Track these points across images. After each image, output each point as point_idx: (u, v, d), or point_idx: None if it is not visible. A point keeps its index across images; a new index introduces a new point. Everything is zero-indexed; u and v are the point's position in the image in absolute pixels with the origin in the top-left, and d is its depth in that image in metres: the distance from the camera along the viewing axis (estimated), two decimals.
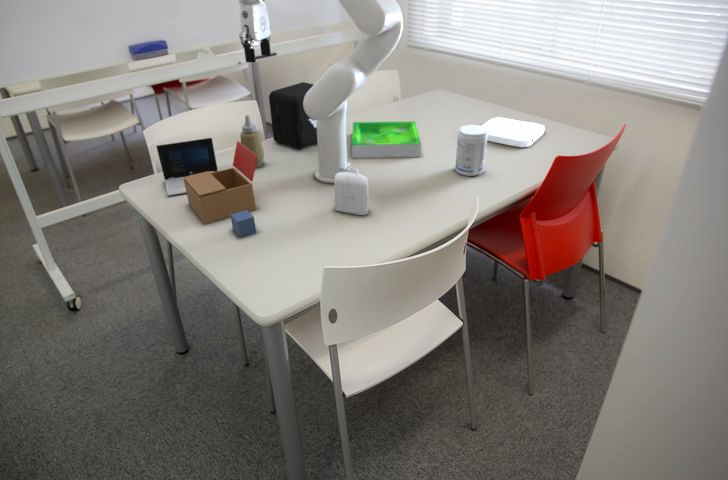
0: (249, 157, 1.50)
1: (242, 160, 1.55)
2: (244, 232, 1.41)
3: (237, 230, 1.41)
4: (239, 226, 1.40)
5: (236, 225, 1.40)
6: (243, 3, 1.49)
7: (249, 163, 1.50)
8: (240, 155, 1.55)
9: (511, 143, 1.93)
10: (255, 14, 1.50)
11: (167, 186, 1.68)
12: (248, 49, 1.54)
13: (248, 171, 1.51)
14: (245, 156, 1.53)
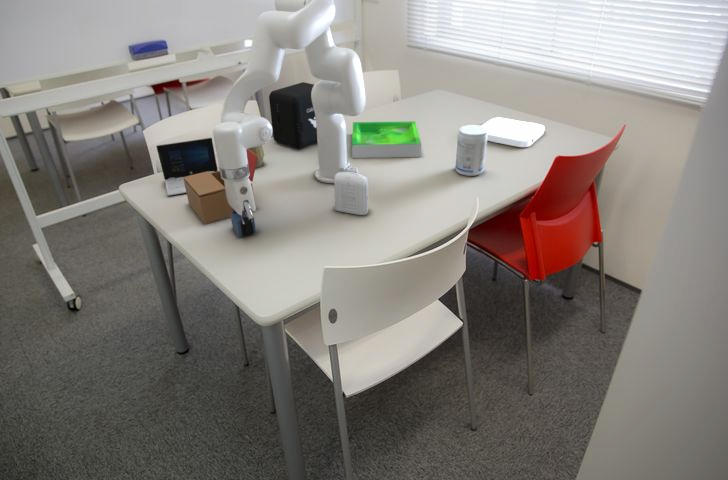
0: (249, 157, 1.50)
1: None
2: None
3: (237, 230, 1.41)
4: (239, 226, 1.40)
5: (236, 225, 1.40)
6: (237, 179, 1.31)
7: (249, 163, 1.50)
8: None
9: (511, 143, 1.93)
10: None
11: (167, 186, 1.68)
12: (248, 223, 1.39)
13: None
14: None
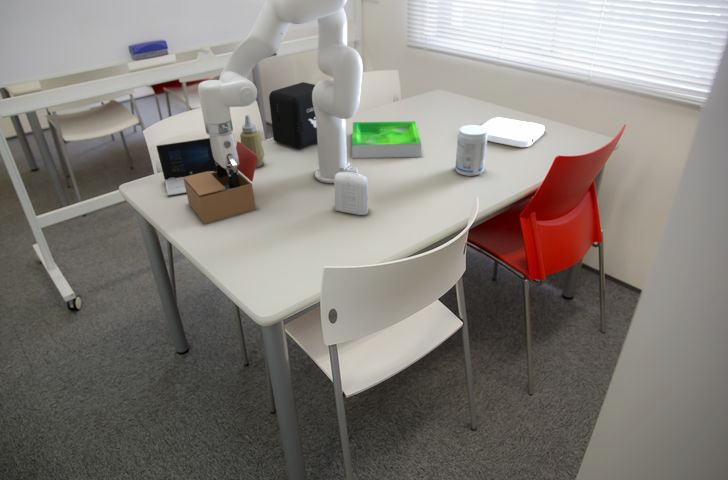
0: (249, 157, 1.50)
1: (242, 160, 1.55)
2: None
3: None
4: None
5: None
6: (221, 134, 1.42)
7: (249, 163, 1.50)
8: (240, 155, 1.55)
9: (511, 143, 1.93)
10: (234, 141, 1.45)
11: (167, 186, 1.68)
12: (235, 176, 1.48)
13: (248, 171, 1.51)
14: (245, 156, 1.53)
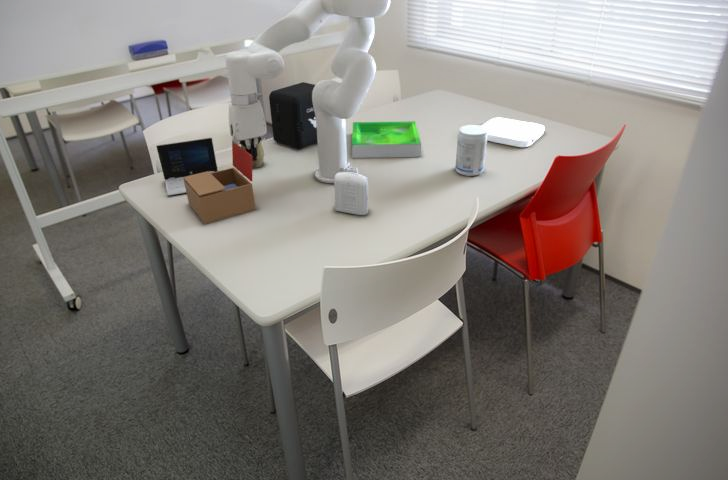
0: (245, 157, 1.50)
1: (239, 160, 1.54)
2: None
3: None
4: None
5: None
6: None
7: (246, 163, 1.50)
8: (237, 155, 1.55)
9: (511, 143, 1.93)
10: None
11: (167, 186, 1.68)
12: None
13: (247, 171, 1.51)
14: (241, 156, 1.52)
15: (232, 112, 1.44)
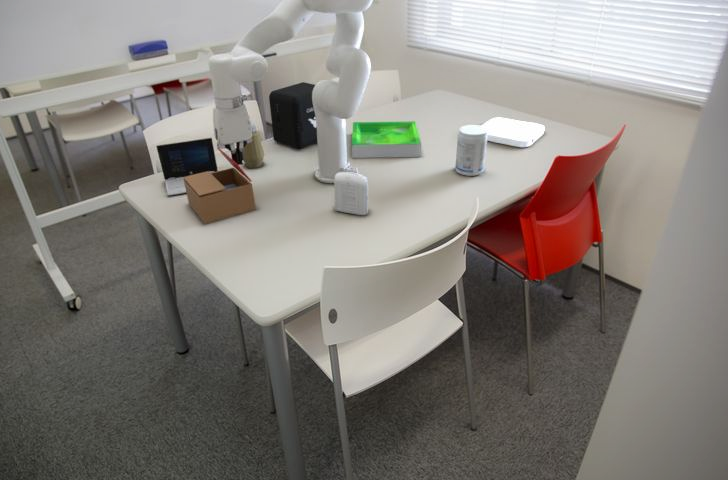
0: (233, 163, 1.49)
1: None
2: None
3: None
4: None
5: None
6: None
7: (237, 168, 1.49)
8: (228, 160, 1.54)
9: (511, 143, 1.93)
10: None
11: (167, 186, 1.68)
12: None
13: (243, 173, 1.51)
14: None
15: (216, 116, 1.42)
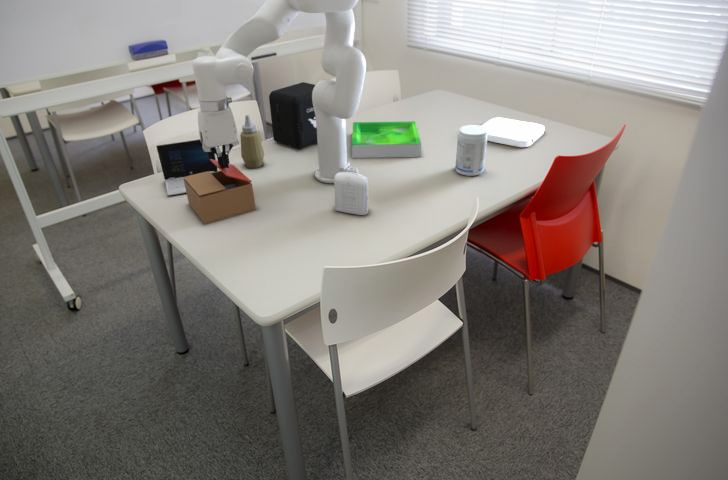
0: None
1: None
2: None
3: None
4: None
5: None
6: None
7: None
8: None
9: (511, 143, 1.93)
10: None
11: (167, 186, 1.68)
12: None
13: None
14: None
15: (201, 119, 1.40)
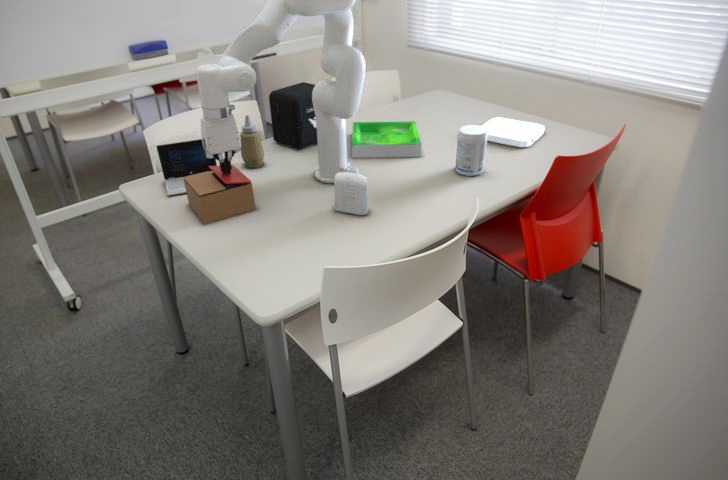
0: None
1: None
2: None
3: None
4: None
5: None
6: None
7: None
8: None
9: (511, 143, 1.93)
10: None
11: (167, 186, 1.68)
12: None
13: None
14: None
15: (204, 126, 1.41)
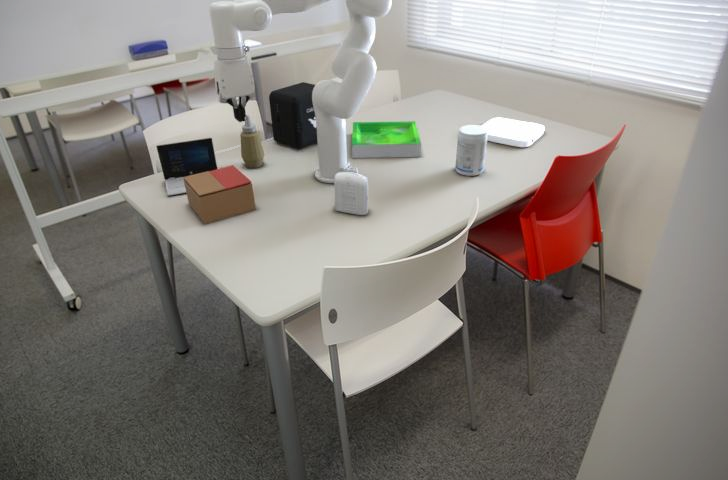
0: None
1: None
2: None
3: None
4: None
5: None
6: None
7: None
8: None
9: (511, 143, 1.93)
10: None
11: (167, 186, 1.68)
12: None
13: None
14: None
15: (217, 67, 1.36)
